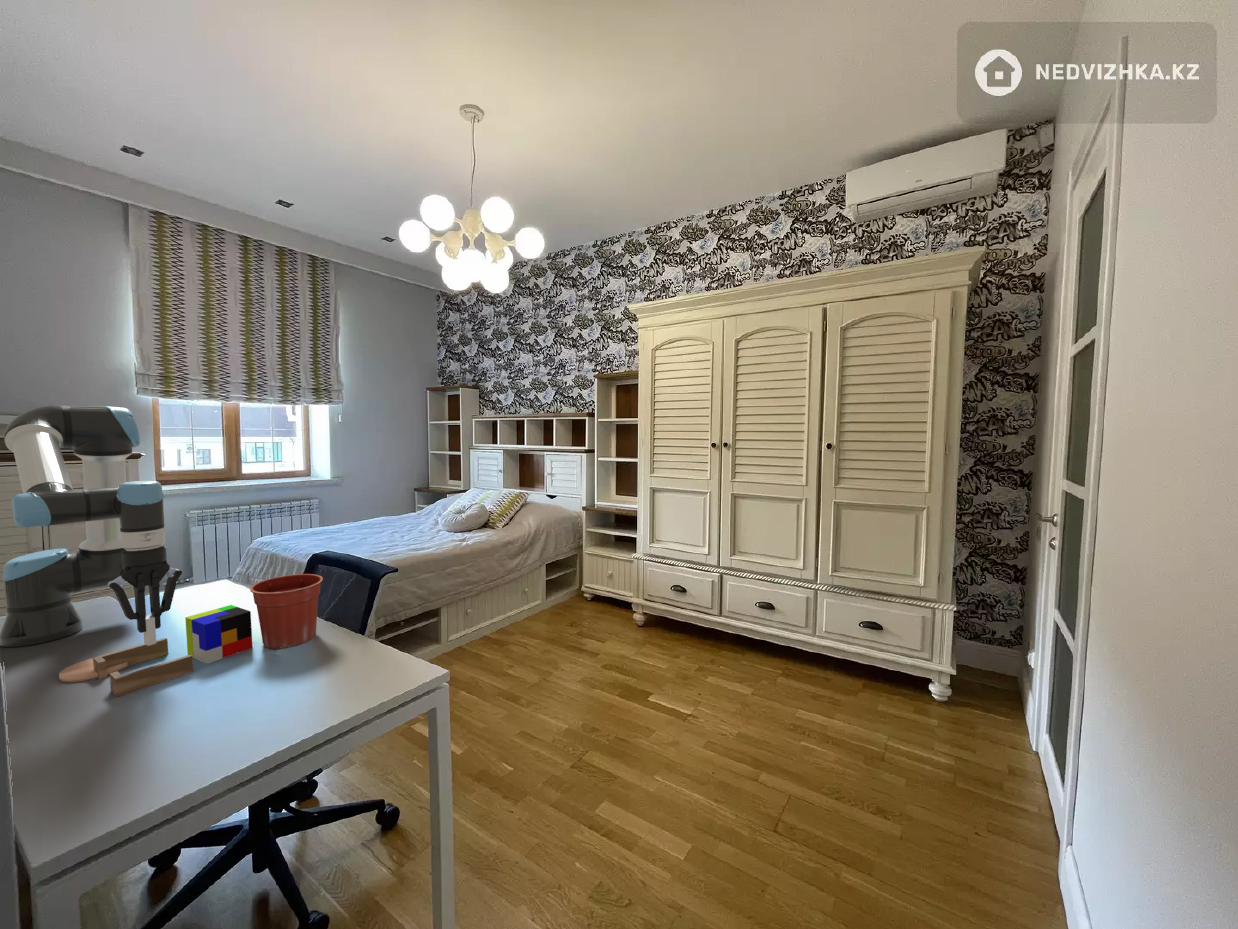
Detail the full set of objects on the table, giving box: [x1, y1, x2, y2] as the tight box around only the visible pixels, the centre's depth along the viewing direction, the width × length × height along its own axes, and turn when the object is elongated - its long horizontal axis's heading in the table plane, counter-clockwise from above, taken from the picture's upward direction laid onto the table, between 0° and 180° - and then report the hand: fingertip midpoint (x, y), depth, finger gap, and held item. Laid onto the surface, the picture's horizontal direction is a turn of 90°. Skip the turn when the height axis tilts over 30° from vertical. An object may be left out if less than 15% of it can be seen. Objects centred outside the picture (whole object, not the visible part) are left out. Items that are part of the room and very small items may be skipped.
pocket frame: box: [92, 637, 195, 698], centre depth 115 cm, size 18×13×4 cm
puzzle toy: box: [184, 604, 253, 664], centre depth 126 cm, size 10×10×10 cm
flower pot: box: [249, 573, 324, 650], centre depth 133 cm, size 16×16×16 cm
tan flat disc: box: [58, 657, 129, 683], centre depth 117 cm, size 12×12×1 cm
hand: (150, 643), depth 116 cm, fingers closed
